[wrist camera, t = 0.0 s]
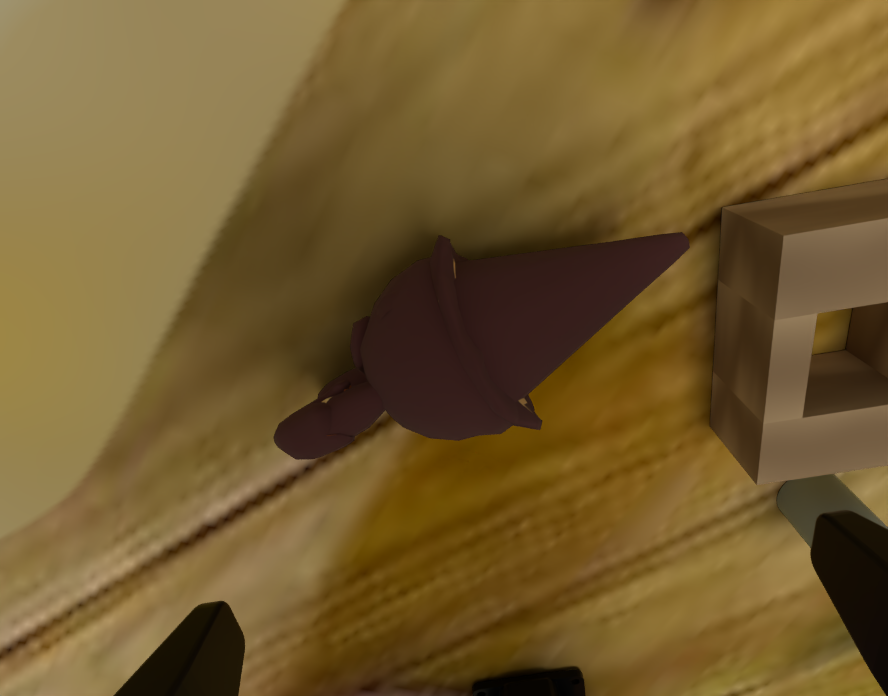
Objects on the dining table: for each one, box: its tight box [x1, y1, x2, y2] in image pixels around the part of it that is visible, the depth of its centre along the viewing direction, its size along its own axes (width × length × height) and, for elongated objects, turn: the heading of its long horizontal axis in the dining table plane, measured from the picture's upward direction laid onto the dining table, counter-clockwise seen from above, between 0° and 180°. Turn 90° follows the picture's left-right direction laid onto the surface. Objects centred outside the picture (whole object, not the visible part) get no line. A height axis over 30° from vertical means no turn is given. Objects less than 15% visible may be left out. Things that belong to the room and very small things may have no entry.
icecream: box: [274, 232, 690, 459], centre depth 19 cm, size 7×7×15 cm
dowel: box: [777, 474, 888, 548], centre depth 24 cm, size 3×3×8 cm
